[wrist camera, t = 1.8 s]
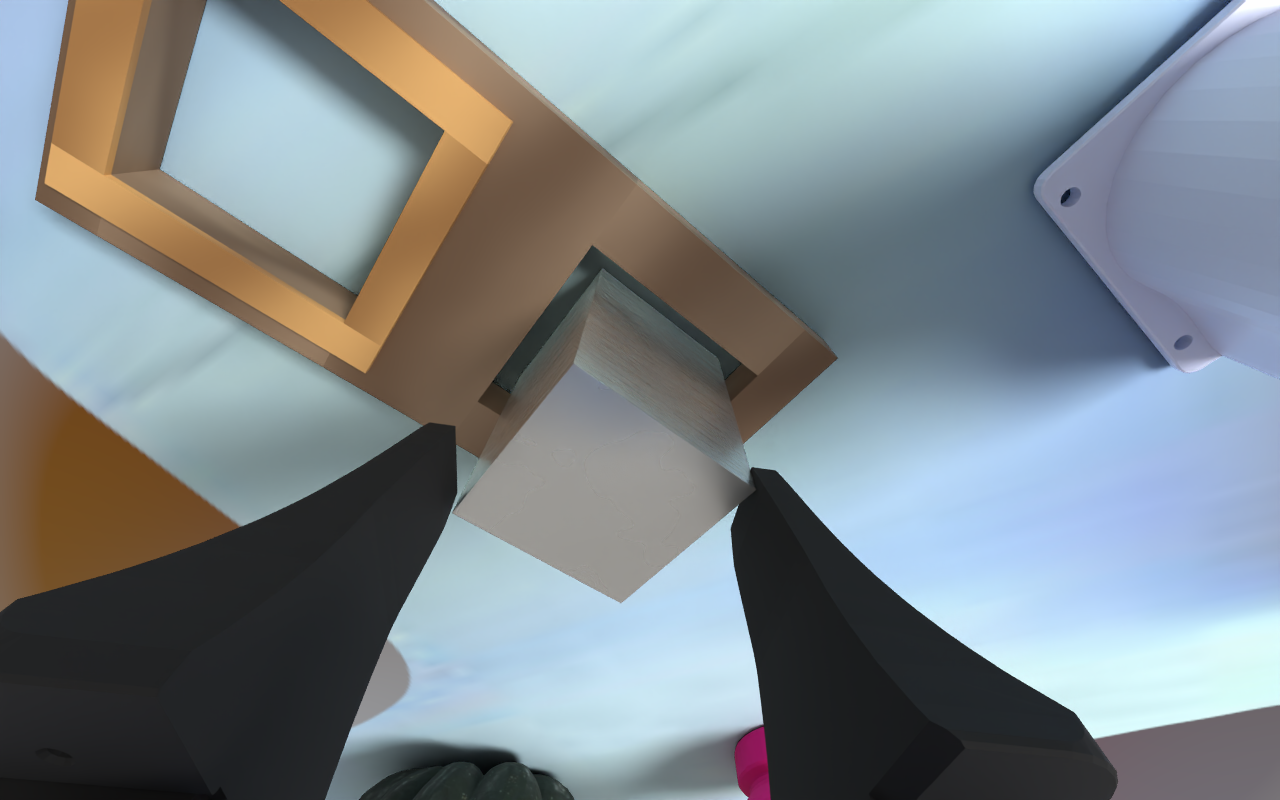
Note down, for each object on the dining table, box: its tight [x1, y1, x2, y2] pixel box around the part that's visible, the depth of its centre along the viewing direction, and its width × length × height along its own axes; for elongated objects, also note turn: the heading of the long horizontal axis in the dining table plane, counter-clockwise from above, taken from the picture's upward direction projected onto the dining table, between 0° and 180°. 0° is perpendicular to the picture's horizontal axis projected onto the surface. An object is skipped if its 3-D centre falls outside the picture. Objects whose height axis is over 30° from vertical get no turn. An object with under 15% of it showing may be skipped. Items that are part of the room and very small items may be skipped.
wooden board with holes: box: [35, 0, 838, 458], centre depth 15 cm, size 20×10×2 cm, turn 51°
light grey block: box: [452, 268, 756, 603], centre depth 14 cm, size 5×5×7 cm
